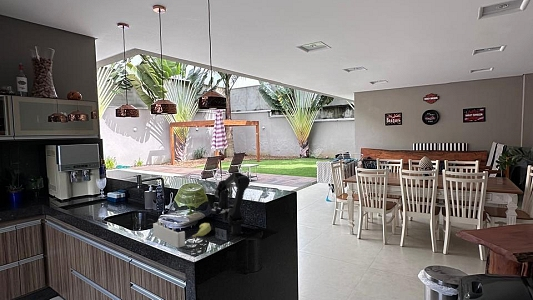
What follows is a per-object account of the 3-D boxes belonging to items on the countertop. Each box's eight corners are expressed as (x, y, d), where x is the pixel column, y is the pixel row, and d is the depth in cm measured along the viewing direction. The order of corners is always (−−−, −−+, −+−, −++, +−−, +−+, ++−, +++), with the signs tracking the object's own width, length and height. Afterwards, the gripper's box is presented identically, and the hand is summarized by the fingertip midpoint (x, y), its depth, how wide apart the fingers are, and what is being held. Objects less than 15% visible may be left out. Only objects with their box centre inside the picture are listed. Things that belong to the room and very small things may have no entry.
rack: (185, 245, 167) (184, 226, 167) (177, 247, 164) (177, 228, 163) (160, 234, 188) (160, 217, 188) (153, 236, 185) (153, 218, 184)
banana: (215, 219, 197) (198, 231, 178) (218, 227, 197) (201, 240, 178) (199, 222, 202) (181, 234, 184) (202, 230, 202) (183, 243, 184)
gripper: (227, 195, 213) (228, 217, 213) (206, 199, 200) (206, 222, 200) (237, 197, 205) (238, 219, 206) (215, 201, 192) (216, 225, 192)
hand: (224, 221), depth 201 cm, fingers closed
